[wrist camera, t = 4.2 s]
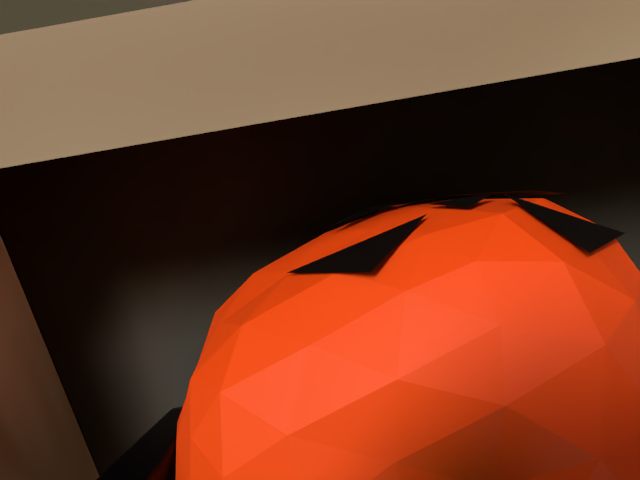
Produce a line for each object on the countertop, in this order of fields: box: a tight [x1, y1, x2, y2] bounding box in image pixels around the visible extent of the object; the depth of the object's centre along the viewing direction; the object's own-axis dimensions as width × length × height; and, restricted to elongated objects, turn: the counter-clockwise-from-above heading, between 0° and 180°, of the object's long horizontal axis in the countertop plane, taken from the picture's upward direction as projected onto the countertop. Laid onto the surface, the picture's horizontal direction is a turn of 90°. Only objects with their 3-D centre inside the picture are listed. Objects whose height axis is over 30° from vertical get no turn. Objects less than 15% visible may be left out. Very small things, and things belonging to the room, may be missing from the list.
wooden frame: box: [0, 0, 640, 480], centre depth 8 cm, size 12×16×4 cm
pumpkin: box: [176, 190, 640, 480], centre depth 7 cm, size 7×8×6 cm
